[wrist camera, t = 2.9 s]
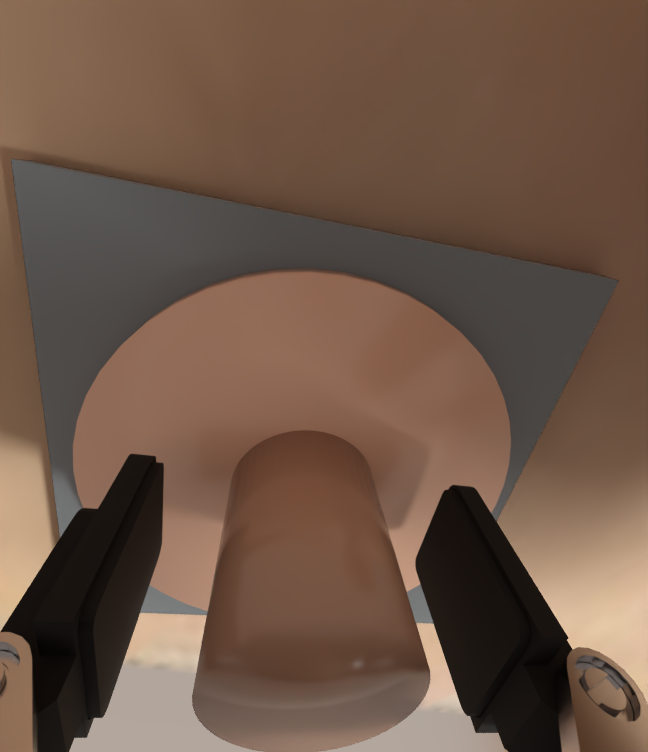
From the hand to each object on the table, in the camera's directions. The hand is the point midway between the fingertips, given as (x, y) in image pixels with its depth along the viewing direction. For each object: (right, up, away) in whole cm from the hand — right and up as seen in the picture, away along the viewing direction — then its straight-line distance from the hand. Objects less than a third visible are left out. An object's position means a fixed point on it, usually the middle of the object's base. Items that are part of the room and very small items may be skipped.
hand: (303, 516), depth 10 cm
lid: (0, +1, +2) cm, 2 cm away
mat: (0, +1, +2) cm, 2 cm away
